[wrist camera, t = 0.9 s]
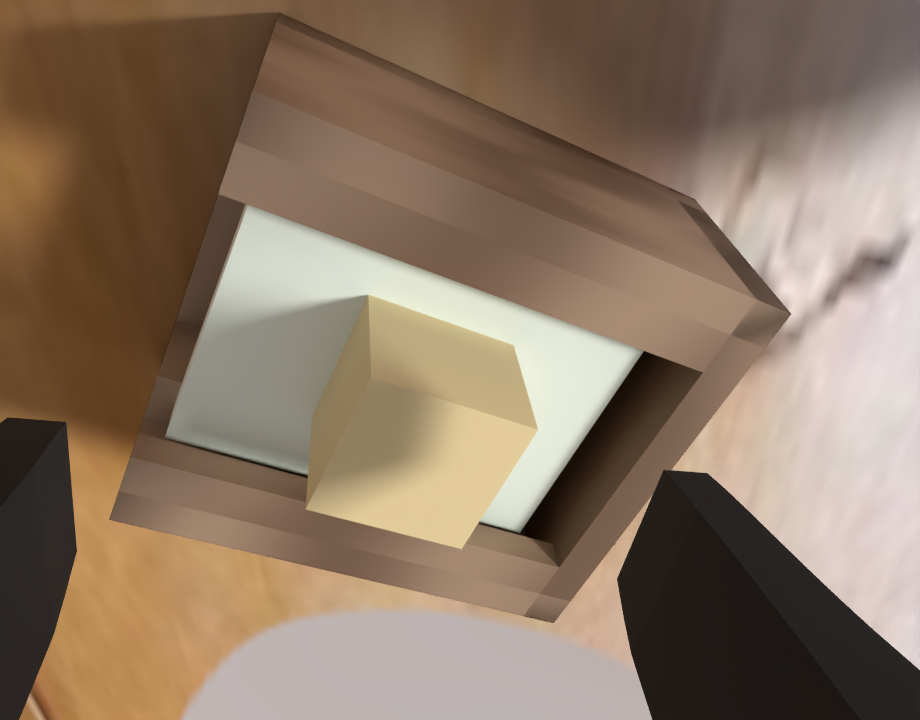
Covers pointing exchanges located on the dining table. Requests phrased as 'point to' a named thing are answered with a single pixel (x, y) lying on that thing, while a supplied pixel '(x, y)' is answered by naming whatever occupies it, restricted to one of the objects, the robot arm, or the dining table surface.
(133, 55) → the dining table surface
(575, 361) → the cover plate
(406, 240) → the walnut box
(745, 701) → the robot arm
